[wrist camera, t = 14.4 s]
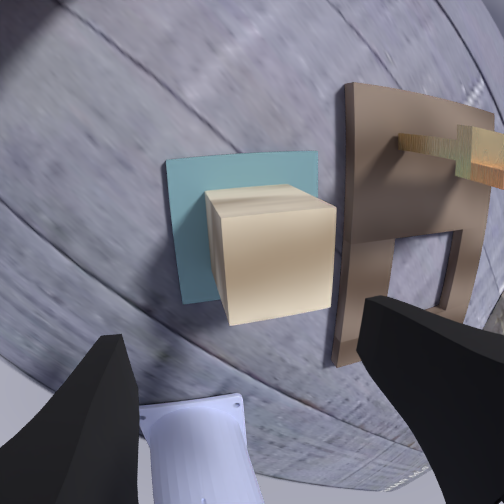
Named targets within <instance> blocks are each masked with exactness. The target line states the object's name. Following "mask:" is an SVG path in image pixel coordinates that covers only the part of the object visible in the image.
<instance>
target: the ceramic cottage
mask: <svg viewBox="0 0 504 504" xmlns="http://www.w3.org/2000/svg"><path fill="white" fill-rule="evenodd" d="M483 330H485V331H489V332H493V333H497V334H502V335H504V292H503V294H502V295H501V297H500V299H499V301H498V302H497V304H496V305H495V309H494V310H493V313H492V314H491V315H490V317H489V319H488V321H487V322H486V324H485V326H484V328H483Z"/></svg>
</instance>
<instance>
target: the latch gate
mask: <svg viewBox="0 0 504 504" xmlns="http://www.w3.org/2000/svg"><path fill="white" fill-rule="evenodd" d="M398 150H403V151H410V152H415V153H421V154H426V155H432V156H437V157H442V158H447V159H452V160H456V169H455V176H458V177H462V178H465V179H469V180H472V181H476V182H479V183H483V184H486V185H489V186H493V187H496V188H499V189H502V190H504V134H501V133H498V132H494V131H490V130H486V129H482V128H478V127H474V126H466V125H457V140H454V139H447V138H440V137H432V136H423V135H414V134H404V133H398Z"/></svg>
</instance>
